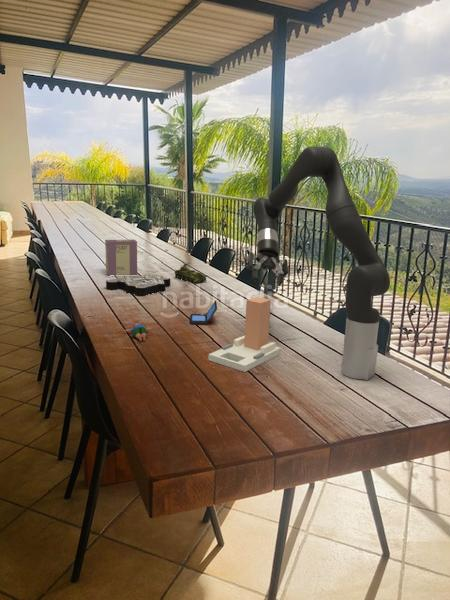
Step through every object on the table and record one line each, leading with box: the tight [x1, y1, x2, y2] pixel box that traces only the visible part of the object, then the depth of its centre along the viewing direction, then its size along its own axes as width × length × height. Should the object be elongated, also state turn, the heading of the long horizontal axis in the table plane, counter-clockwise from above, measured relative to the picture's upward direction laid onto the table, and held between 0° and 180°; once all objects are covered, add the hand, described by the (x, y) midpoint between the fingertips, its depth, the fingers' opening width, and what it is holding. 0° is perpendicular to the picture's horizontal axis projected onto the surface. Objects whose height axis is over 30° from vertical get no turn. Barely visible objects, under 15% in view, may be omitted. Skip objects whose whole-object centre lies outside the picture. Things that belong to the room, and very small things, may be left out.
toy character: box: [120, 321, 155, 342], centre depth 167 cm, size 12×5×15 cm
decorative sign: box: [105, 274, 171, 297], centre depth 240 cm, size 28×4×30 cm
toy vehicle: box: [174, 262, 208, 284], centre depth 263 cm, size 9×20×10 cm, turn 44°
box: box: [104, 239, 138, 277], centre depth 269 cm, size 17×9×20 cm, turn 111°
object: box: [189, 300, 218, 326], centre depth 187 cm, size 12×11×7 cm
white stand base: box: [208, 334, 282, 373], centre depth 150 cm, size 14×21×4 cm, turn 143°
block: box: [244, 296, 272, 350], centre depth 152 cm, size 6×6×16 cm
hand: (267, 282), depth 156 cm, fingers open, 8 cm apart
